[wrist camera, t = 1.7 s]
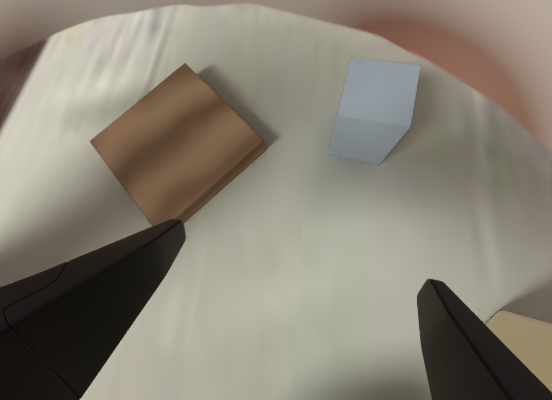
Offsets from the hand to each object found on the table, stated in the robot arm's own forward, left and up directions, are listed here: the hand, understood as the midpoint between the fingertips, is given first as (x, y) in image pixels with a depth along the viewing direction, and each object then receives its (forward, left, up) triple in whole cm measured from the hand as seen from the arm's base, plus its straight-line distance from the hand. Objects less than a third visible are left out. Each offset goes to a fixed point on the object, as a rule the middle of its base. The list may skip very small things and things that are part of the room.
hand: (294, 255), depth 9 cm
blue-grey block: (+5, -12, -14) cm, 19 cm away
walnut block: (+17, +2, -14) cm, 22 cm away
